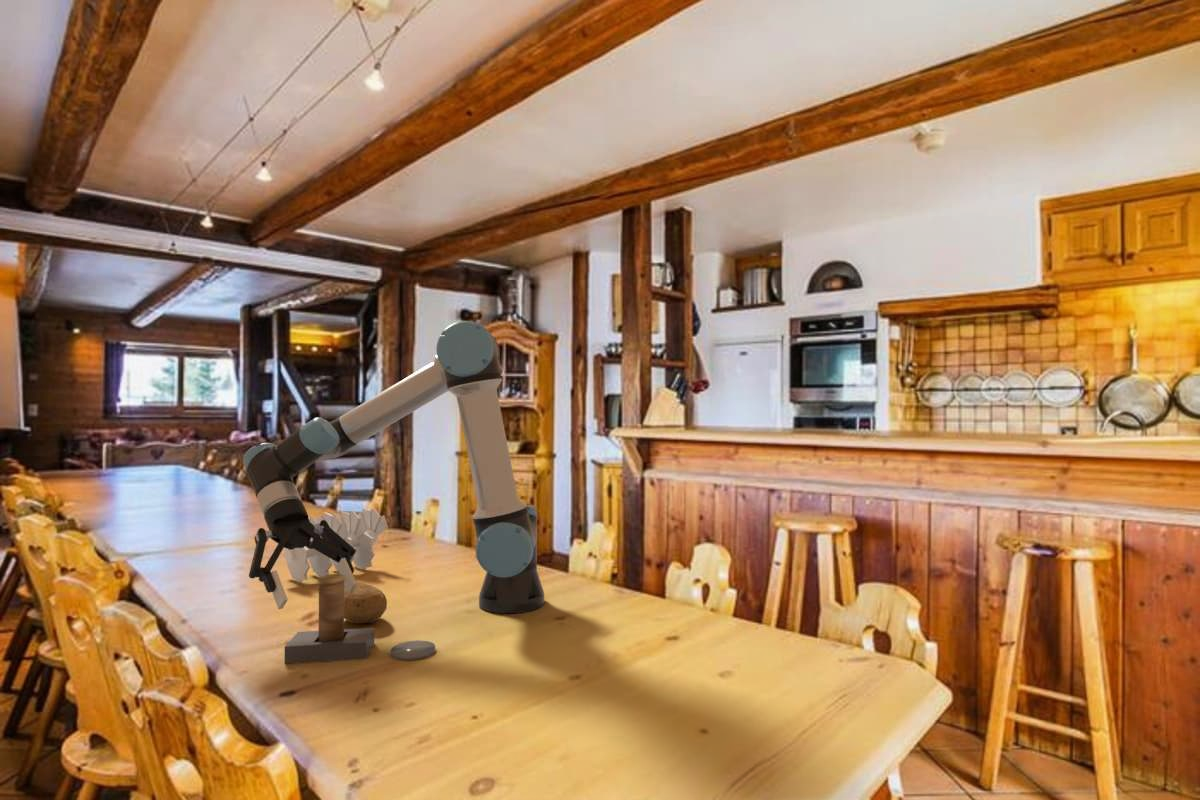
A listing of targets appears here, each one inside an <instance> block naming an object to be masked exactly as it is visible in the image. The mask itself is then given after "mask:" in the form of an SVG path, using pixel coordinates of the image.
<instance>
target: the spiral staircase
mask: <svg viewBox="0 0 1200 800" xmlns="http://www.w3.org/2000/svg"><path fill="white" fill-rule="evenodd" d="M308 518H309V521H310V522H311V523H312V524H313V525H315V524H319V523H320V522H321V521H322V520H325V521H326V522H327V523H328V525H329V527H330V528H331V529H332V530H333V531H335V532H336V533H337V534H338V535H339V536H340V537H341V538H343V539H344V540H345V541H346V542H347V543H348V544H349V545H351V546H352V547H353V548H354V549H355V550H356V553H355V554H354V556H353V557H352V559H351V560H350V561H351V564H352V562H353V564H354V565H355V568H357V567H358V568H360V569H361V570H362V569H363V570H362V571H364V570H365V569H367V568H370V567H373V564H372V560H373V558H374V557H375V555H376V553H375V552H374V549H373V546H374V545H373V544H375V543H376V542H377V541H378V539H379V538H378V537H379V536H380V535H381V534H382V533H384V532H385V531H387V530H389V526H388V523H387V519H386V516H385V514H383V515H380V514H379V512H378V511H377V509H376V508H375V507H372V509H369V508H364V507H363V508H362V511H360V512H359V513H356V511H355V510H354V509H351V510H350V512H346V511H342V512H341V515H339V516H338V515H337V512H334V513H333V515H332V514H331V513H328V512H326V511H323V515H320V516H318V517H316V518H315V517H314V515H310V517H308ZM314 532H315V531H314ZM316 533H317V532H316ZM320 537H321V536H320ZM321 538H322V537H321ZM310 541H311V542H312V541H313V538H311V539H310ZM283 554H284V559H285V561H286V565H287V566H286V567H287V569H288V571H289V574H290V575H291V578H292V579H294V580H295V581H296V582H297V583H299V584H302V583H303V581H307V580H308V571H309V570H310V568H311V569H312V572H313V573H315V574H316V575H317V576H318V578H319V577H321V576H324V575H330V572H329V570H330V569H331V568H332V566H333V567H334V568H335V570H336V572H337V573H339V571H338V568H337V565H338V562H336V561H334V560H332V559H331V558H329V557H327V556H325V555H324V554H322V553H320V552H318V551H317V550H315V549H310V548H308V547H306V546H305V547H304V548H295V549H292V550H289V549H287V548H284V553H283ZM365 571H366V570H365ZM301 582H302V583H301Z"/></svg>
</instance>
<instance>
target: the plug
mask: <svg viewBox="0 0 1200 800" xmlns="http://www.w3.org/2000/svg"><path fill="white" fill-rule="evenodd" d="M317 581H318V583H317V584H318V631H319V640H318V642H329V641H343V639H344V629H345V618H344V581H345V575H342V574H340V573H334V574H333V573H332V574H330V573H329V575H324V576H321V577H319V576H318V579H317Z"/></svg>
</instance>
